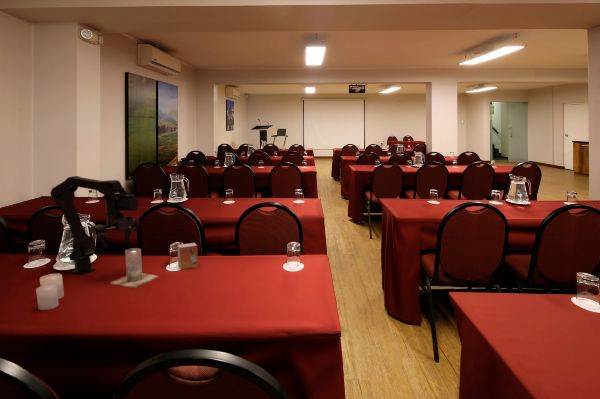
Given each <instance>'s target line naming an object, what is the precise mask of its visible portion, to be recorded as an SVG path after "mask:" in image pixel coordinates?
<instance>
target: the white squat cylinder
mask: <svg viewBox="0 0 600 399" xmlns="http://www.w3.org/2000/svg"><path fill="white" fill-rule="evenodd" d="M35 291H36V299H37V307H38V310H40V311H48V310H52V309H55V308H57V307H58V306H59V305H60V304H59V299H58V295H57V286H56V285H53V284H50V285H44V286H39V287H37V288H36V289H35Z"/></svg>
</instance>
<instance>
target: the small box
mask: <svg viewBox="0 0 600 399" xmlns="http://www.w3.org/2000/svg"><path fill="white" fill-rule="evenodd" d="M176 247H177V265H178V266H177V267H178V268H179V270H188V269H195V268H199V263H198V262H199V260H198V258H199V256H198V245H197V244H196V243H195V242H191V243H183V244H182V243H181V244H177V245H176Z"/></svg>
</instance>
